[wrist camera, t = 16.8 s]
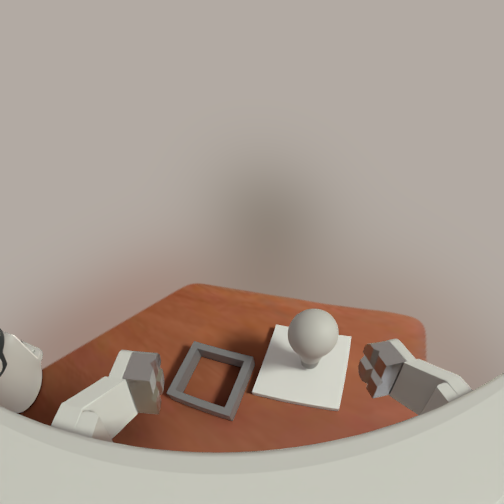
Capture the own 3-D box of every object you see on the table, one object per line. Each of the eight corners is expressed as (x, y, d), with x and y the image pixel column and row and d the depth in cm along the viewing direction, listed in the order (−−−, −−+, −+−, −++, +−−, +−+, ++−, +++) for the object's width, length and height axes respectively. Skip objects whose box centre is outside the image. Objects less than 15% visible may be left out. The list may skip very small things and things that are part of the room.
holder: (172, 399, 35) (166, 393, 33) (198, 349, 42) (194, 341, 40) (232, 421, 32) (229, 416, 30) (255, 364, 38) (253, 356, 37)
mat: (252, 394, 35) (252, 391, 34) (276, 328, 43) (276, 324, 43) (337, 411, 31) (338, 409, 30) (350, 340, 39) (351, 336, 39)
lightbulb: (338, 358, 36) (351, 311, 30) (315, 390, 33) (323, 351, 26) (303, 339, 40) (306, 290, 33) (279, 368, 36) (276, 325, 30)
